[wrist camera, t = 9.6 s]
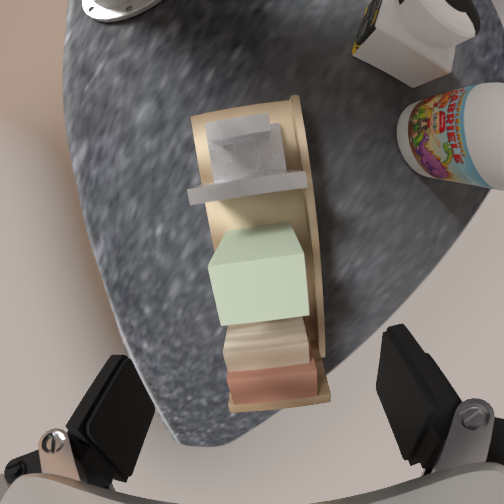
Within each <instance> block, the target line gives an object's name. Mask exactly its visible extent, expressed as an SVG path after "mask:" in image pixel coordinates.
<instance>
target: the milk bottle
mask: <svg viewBox="0 0 504 504" xmlns="http://www.w3.org/2000/svg"><path fill="white" fill-rule="evenodd" d="M397 142H398V146H399V149H400V151H401V154H402V156H403V157H404V159H405V161H406V162H407V163H408V165H409V166H410V167H411V168H412V169H413V170H414V171H416V172H417V173H419V174H421V175H423V176H426V177H430V178H435V179H441V180H447V181H453V182H459V183H464V184H470V185H475V186H481V187H486V188H491V189H498V190H504V83H483V84H478V85H472V86H468V87H464V88H460V89H456V90H453V91H449V92H446V93H442V94H439V95H436V96H433V97H429V98H426V99H423V100H420V101H417V102H415V103H413V104H411V105H409V106H408V107H406V108H405V109H404V111H403V112H402V114H401V116H400V118H399V121H398V124H397Z"/></svg>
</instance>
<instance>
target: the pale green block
mask: <svg viewBox="0 0 504 504" xmlns="http://www.w3.org/2000/svg"><path fill="white" fill-rule="evenodd" d="M208 270H209V275H210V279H211V284H212V288H213V293H214V297H215V302H216V306H217V310H218V314H219V319H220V323H221V326H224V325H234V324H244V323H253V322H262V321H270V320H278V319H286V318H293V317H300V316H307V315H309V303H308V291H307V279H306V268H305V258H304V252H303V250H302V248H301V246H300V243H299V241H298V239H297V237H296V234H295V232H294V230H293V228H292V226H291V223H290V221H289V222H282V223H275V224H268V225H260V226H253V227H246V228H240V229H233V230H227V231H226V232H225V234H224V236H223V238H222V240H221V242H220V244H219V246H218V248H217V250H216V251H215V253H214V255H213V257H212V259H211V261H210V263H209V265H208Z"/></svg>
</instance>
